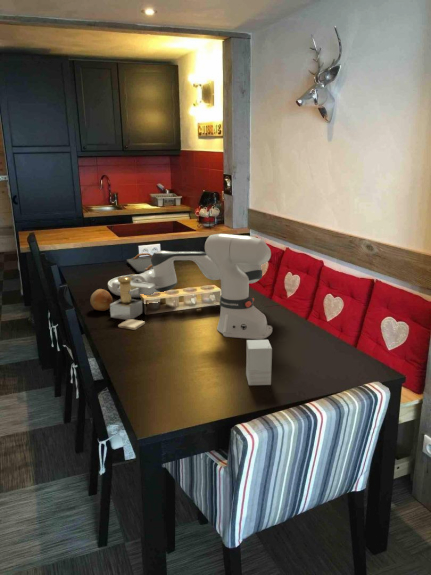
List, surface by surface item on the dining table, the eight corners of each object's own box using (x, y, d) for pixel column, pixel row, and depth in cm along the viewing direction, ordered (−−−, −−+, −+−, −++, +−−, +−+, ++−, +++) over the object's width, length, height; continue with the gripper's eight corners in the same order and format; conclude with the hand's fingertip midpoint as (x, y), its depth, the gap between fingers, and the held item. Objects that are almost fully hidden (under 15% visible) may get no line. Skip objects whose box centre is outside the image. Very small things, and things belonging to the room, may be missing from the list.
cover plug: (136, 313, 216) (134, 277, 211) (128, 318, 211) (126, 280, 206) (124, 312, 218) (122, 275, 213) (117, 316, 213) (115, 279, 208)
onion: (86, 311, 219) (84, 290, 216) (100, 305, 227) (99, 285, 224) (103, 315, 214) (101, 293, 211) (117, 308, 223) (116, 288, 220)
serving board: (177, 273, 286) (177, 263, 284) (138, 277, 277) (138, 267, 275) (159, 259, 320) (159, 250, 318) (124, 262, 312) (124, 253, 310)
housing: (142, 313, 217) (141, 300, 215) (130, 320, 208) (129, 307, 206) (123, 310, 221) (122, 297, 219) (110, 317, 212) (109, 304, 210)
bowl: (98, 297, 241) (97, 282, 239) (123, 281, 269) (122, 267, 267) (154, 301, 234) (154, 286, 232) (174, 285, 262) (174, 270, 260)
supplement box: (267, 374, 159) (269, 339, 155) (271, 385, 152) (272, 348, 148) (245, 375, 159) (246, 339, 155) (247, 385, 152) (248, 348, 148)
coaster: (145, 323, 204) (145, 321, 204) (134, 330, 197) (134, 327, 197) (128, 321, 207) (128, 318, 207) (118, 327, 200) (118, 324, 200)
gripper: (161, 293, 220) (145, 301, 208) (123, 288, 227) (105, 296, 215) (160, 279, 218) (144, 287, 206) (122, 275, 226) (104, 282, 213)
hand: (124, 291), depth 211 cm, fingers closed on cover plug, 5 cm apart
